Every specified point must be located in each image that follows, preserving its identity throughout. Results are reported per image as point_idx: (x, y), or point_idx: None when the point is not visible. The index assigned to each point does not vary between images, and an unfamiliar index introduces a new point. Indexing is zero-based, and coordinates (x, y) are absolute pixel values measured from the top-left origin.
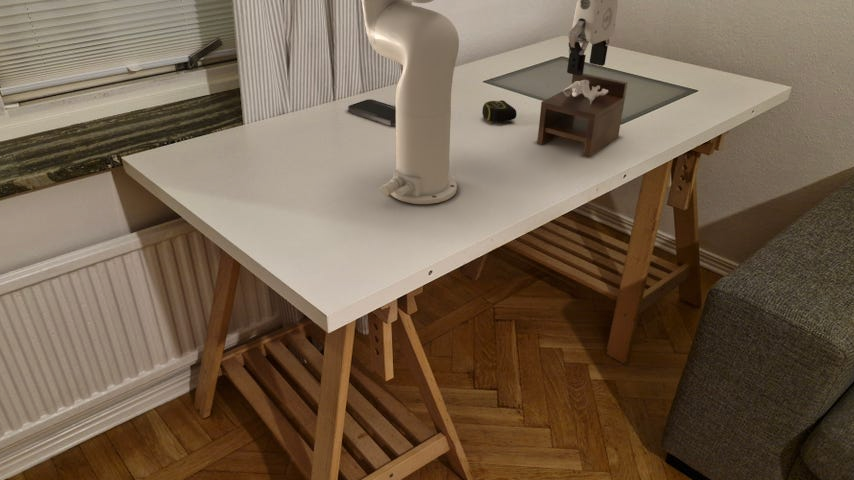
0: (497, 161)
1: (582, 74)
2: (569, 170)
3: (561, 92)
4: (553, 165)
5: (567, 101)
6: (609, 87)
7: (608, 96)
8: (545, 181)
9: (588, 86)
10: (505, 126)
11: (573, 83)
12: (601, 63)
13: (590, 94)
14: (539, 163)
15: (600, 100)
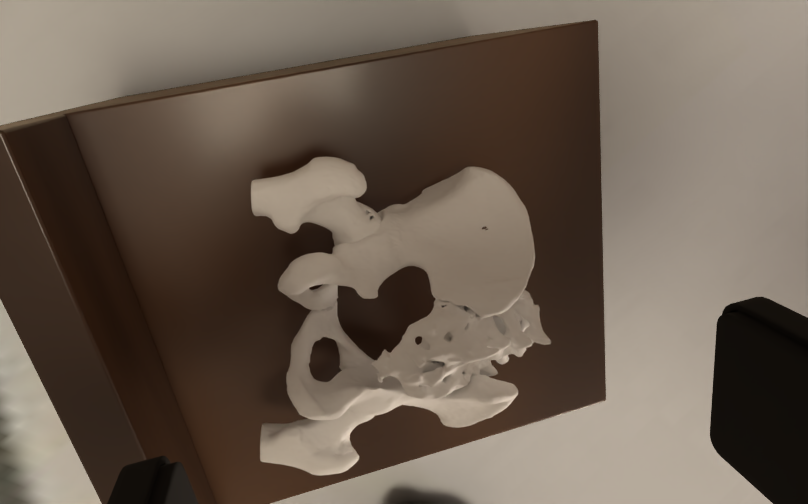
0: (729, 257)
1: (733, 303)
2: (647, 6)
3: (376, 464)
4: (644, 92)
5: None
6: (99, 276)
7: (152, 225)
8: (787, 8)
9: (450, 289)
10: (446, 481)
11: (509, 394)
12: (179, 488)
13: (440, 231)
14: (660, 145)
15: None
